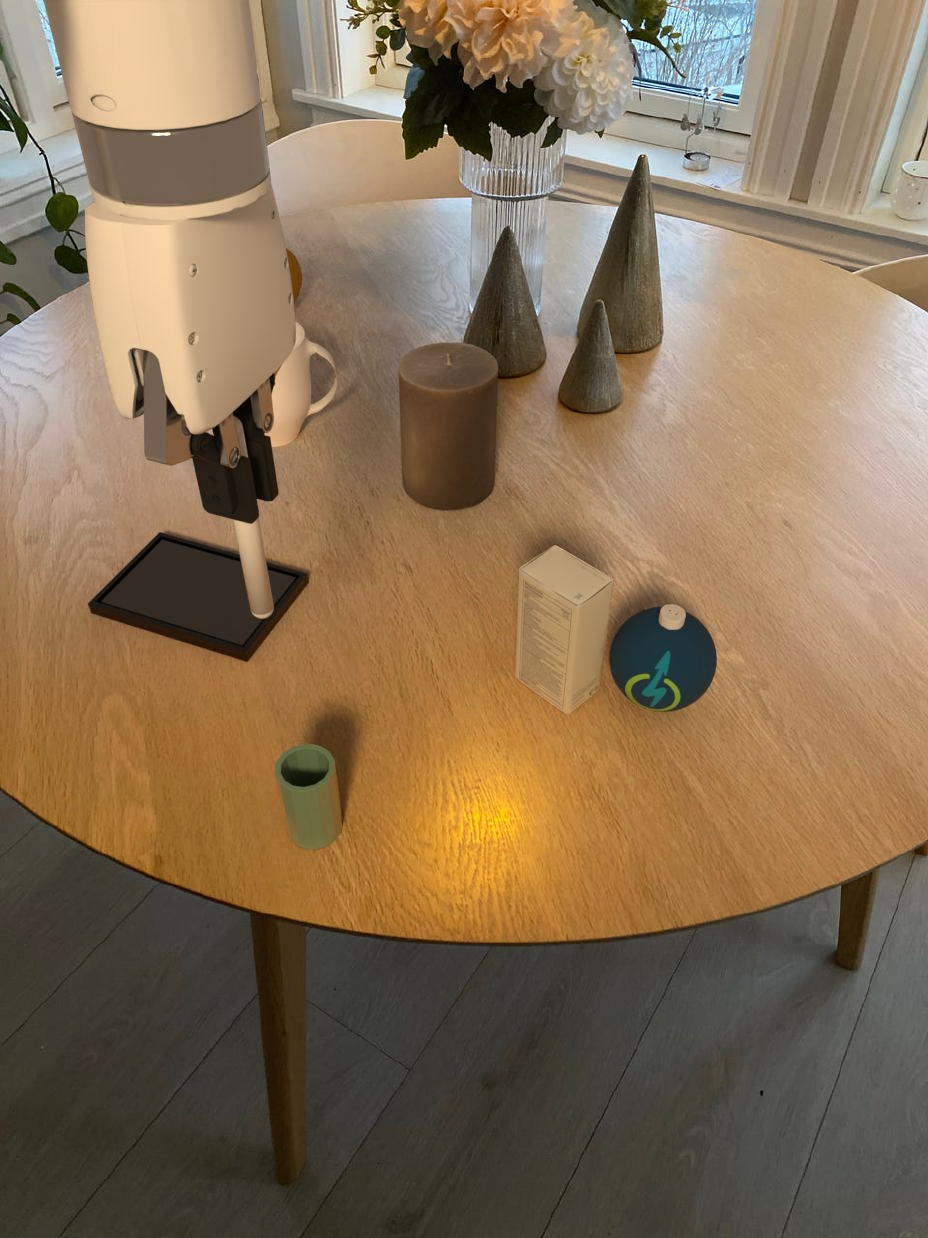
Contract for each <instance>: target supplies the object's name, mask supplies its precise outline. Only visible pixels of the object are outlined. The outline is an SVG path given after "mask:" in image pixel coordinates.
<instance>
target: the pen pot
mask: <svg viewBox="0 0 928 1238" xmlns="http://www.w3.org/2000/svg"><path fill="white" fill-rule="evenodd" d="M337 774H338V773H337V765H336V760H335V758H334V756H333V754H332V753H331V752H330V750H328V749H326V748H325V747H323V746H321V745H319V744H314V743H303V744H298V745H294V746H292V747H290V748H288V749H287V750H285V751H284V752H282V754H281V755H280V757H279V758H278V759H277V761H276V762H275V768H274V777H275V782H276V787H277V790H278V798H279V802H280V806H281V811H282V817H283V822H284V826H285V830H286V833H287V836H288V839H289V840H290V841H291V843H292V844H294V845H295V846H296V847H298V848H300V849H303V850H309V851H315V850H321V849H324V848H326V847H329V846H330V845H331V844H333V843H335V842H336V840H337V839H338V838H339V836H340V834H341V833H342V829H343V813H342V806H341V798H340V797H341V796H340V789H339V783H338V782H339V781H338V775H337Z"/></svg>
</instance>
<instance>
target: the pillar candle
mask: <svg viewBox="0 0 928 1238" xmlns="http://www.w3.org/2000/svg"><path fill="white" fill-rule="evenodd" d="M397 369H398V370H397V371H398V395H399V396H398V397H399V399H398V401H399V421H400V422H399V428H400V429H399V430H400V431H399V432H400V460H401V462H400V463H401V466H400V467H401V475H402V476H401V478H402V487H403V490H404V491H405V493H406V495H407V496H408V497H409V498H411V499H412V500H413V501H415V503H418V504H420V505H422V506H423V507H426V508H428V509H433V510H439V511H459V510H462V509H463V510H464V509H467V508H472V507H475V506H477V505H479V504H482V503H483V501H485V500H486V499H488V498H489V497H490V495H491V494H492V492H493V491H494V488H495V477H496V476H495V475H496V471H495V470H496V452H497V451H496V450H497V449H496V448H497V421H498V391H499V363H498V361H497V359H496V358H495V357H494V356H493V354H491V353H490V352H489V351H487V350H485V349H483V348H481V347H478V346H476V345H474V344H472V343H465V342H459V341H458V342H456V341H455V342H454V341H453V342H442V341H441V342H437V343H435V342H434V343H433V342H432V343H429V344H425V345H422V346H418V347H416V348H413V349H412V350H410V351H408V352H407V353H405V354H401V356H400V357H399V362H398V367H397Z"/></svg>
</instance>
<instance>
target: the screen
mask: <svg viewBox="0 0 928 1238" xmlns="http://www.w3.org/2000/svg"><path fill="white" fill-rule="evenodd" d="M267 570H268V569H267ZM268 576H269V581H270V587H271V593H272V599H273V604H274V607H275V606H276V604H277V603H278V602H279V601H280V599H281V598H282V597H283V596H284V594H285V593H286V592H287V591H288V589H289V588H290V587H291V585H292V584H293V583H294V582H295V580H296V577H292V576H289V575H285V574H282V573H278V572H275V571H271V570H268ZM101 602H102V604H105V605H108V606H111V607H115V608H118V609H121V610H124V611H128V612H131V613H134V614H137V615H141V616H144V617H147V618H150V619H153V620H157V621H160V622H163V623H166V624H170V625H173V626H176V627H179V628H183V629H186V630H189V631H192V632H196V633H199V634H202V635H205V636H209V637H212V638H215V639H218V640H222V641H225V642H228V643H231V644H235V645H238V646H241V647H243V646H244V645H245V644H246V642H247V641H248V640H249V639H250V637H251V636H252V635H253V633H254V632H255V631H256V630H257V628H258V627H259V626H260V625H261V623H262V622H263V621H264V620H265V618H264V619H260V618H257V617H255V616H254V615H253V614H252V612H251V609H250V604H249V599H248V594H247V589H246V584H245V579H244V574H243V569H242V564H241V562H239V561H236V560H232V559H229V558H225V557H222V556H218V555H214V554H211V553H207V552H204V551H200V550H197V549H193V548H190V547H186V546H183V545H179V544H176V543H172V542H168V541H165V540H161V541H160V542H159V543H158V544H157V545H156V546H155V547H154V548H153V549H152V550H151V552H150V553H149V554H148V555H147V556H146V557H145V558H144V559H143V560H142V561H141V562H140V563H139V564H138V565H137V566H136V567H135V568H134V569H133V570H132V571H131V572H130V573H129V574H128V575H127V576H126V577H125V578H124V579H123V580H122V581H121V582H120V583H119V584H118V585H117V586H116V587H115V588H114V589H113V590H112V591H111V592H110V593H109V594H108V595H107V596H106V597H105V598H104V599H103V600H102V601H101Z"/></svg>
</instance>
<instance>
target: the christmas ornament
mask: <svg viewBox="0 0 928 1238" xmlns="http://www.w3.org/2000/svg"><path fill="white" fill-rule="evenodd" d="M608 662H609V668H610V672H611V676H612V679H613V681H614V683H615V685H616V686H617V688H618V689H619V691H620V692H621V693H622V694H623V696H624V697H625V698H626V699H628V700H629V701H630V702H632V703H633V704H634V705H636V706H637V707H640V708H643V709H645V710H648V711H653V712H660V713H669V712H675V711H679V710H682V709H684V708H685V709H686V708H687V707H689V706H691V705H692V704H694V703H696V702H697V701H698V700H700V699H701V698H702V697H703V696H704V694H705V693H706V692H707V691H708V689H709V688H710V686H711V684H712V683H713V680H714V678H715V675H716V672H717V667H718V666H717V665H718V654H717V648H716V644H715V642H714V639H713V637H712V635H711V633H710V631H709V630H708V628H707V627H706V626H705V624H704V623H703V622H702V621H700V619H698V617H696V616H695V615H693V614H692V613H689V612H688V611H686V610H685V609H684V608H683V607H682V606H680V605H678V604H674V603H669V604H667V603H666V604H665V605H663V606H653V607H648V608H645V609H642V610H640V611H638V612H636V613H634V614H633V615H631V616H630V617H629V618H627V619H626V620H625V621H624V622H623V623H622V625H620V626H619V628H618V629H617V631H616V632H615V635H614V637H613V639H612V641H611V645H610V649H609V661H608Z"/></svg>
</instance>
